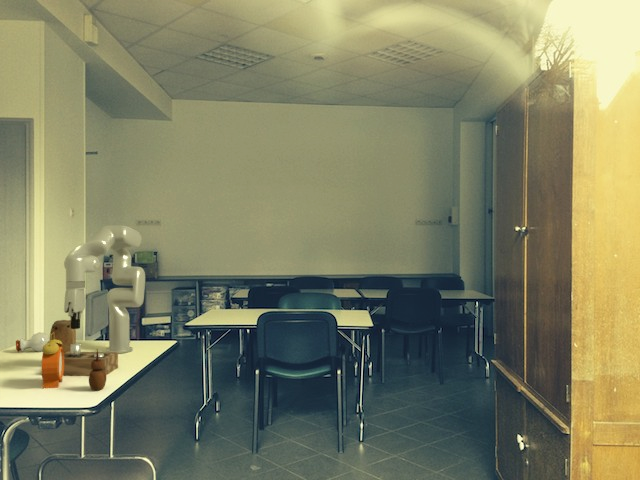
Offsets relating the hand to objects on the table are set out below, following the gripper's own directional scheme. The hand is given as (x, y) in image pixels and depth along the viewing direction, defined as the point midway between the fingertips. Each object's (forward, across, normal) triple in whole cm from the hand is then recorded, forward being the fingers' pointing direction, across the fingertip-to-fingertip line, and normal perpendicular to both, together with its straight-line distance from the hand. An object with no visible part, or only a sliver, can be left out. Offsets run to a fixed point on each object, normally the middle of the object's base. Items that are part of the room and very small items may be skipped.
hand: (75, 328), depth 231 cm
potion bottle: (+18, -40, -39) cm, 59 cm away
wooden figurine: (+19, +25, +20) cm, 37 cm away
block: (+19, -12, -11) cm, 25 cm away
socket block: (+19, -1, +4) cm, 19 cm away
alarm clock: (+19, +18, 0) cm, 27 cm away
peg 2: (+18, 0, +10) cm, 20 cm away
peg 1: (+14, 0, 0) cm, 14 cm away
